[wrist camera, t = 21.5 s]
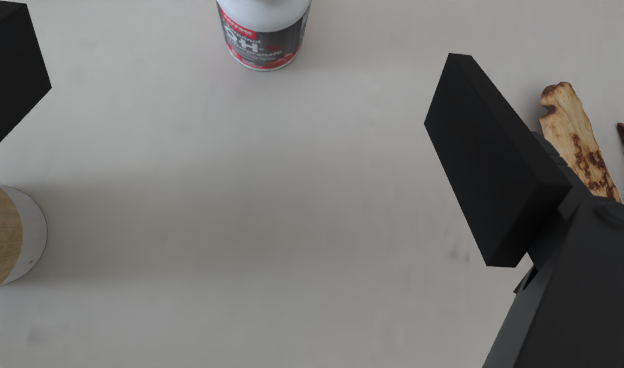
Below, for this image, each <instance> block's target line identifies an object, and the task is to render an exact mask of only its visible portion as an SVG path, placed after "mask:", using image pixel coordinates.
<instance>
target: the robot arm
mask: <svg viewBox="0 0 624 368" xmlns="http://www.w3.org/2000/svg"><path fill="white" fill-rule="evenodd" d="M51 88H52V86H51V83H50V80H49V77H48V73H47V70H46V67H45V63H44V60H43V57H42V54H41V50H40V47H39V44H38V41H37V37H36V34H35V31H34V27H33V24H32V21H31V18H30V14H29V11H28V8H27V5H26V4H25V3H16V2H8V1H0V142H1V141H2V140H3V139H4V138H5V137H6V136H7V135H8V134H9V133H10V132H11V131H12V129H13V128H14V127H15V126H16V125H17V124H18V123H19V122H20V121H21V120H22V119H23V118H24V117H25V116H26V115H27V114H28V113H29V112H30V110H31V109H32V108H33V107H34V106H35V105H36V104H37V103H38V102H39V101H40V100H41V99H42V98H43V97H44V96H45V95H46V94H47V93H48V92H49V90H50V89H51ZM424 125H425V127H426V130H427V132H428V134H429V136H430V139H431V141H432V143H433V146H434V148H435V150H436V152H437V155H438V157H439V159H440V161H441V164H442V166H443V168H444V171H445V173H446V175H447V177H448V180H449V182H450V184H451V186H452V189H453V191H454V193H455V195H456V198H457V200H458V202H459V205H460V207H461V209H462V211H463V214H464V216H465V218H466V220H467V223H468V225H469V227H470V229H471V232H472V234H473V236H474V239H475V241H476V243H477V245H478V248H479V250H480V252H481V254H482V257H483V259H484V261H485V264H486V266H494V267H511V268H515V267H516V266H517V265H518V263H519V262H520V260H521V259H522V258H523V256H524V255H525V253H526V252H527V253H528V254H529V256H530V258H531V260H532V262H533V263H534V265H533V266H532V267H531V269H530V270H529V271H528V273H527V274H526V275H525V277H524V278H523V279H522V281H521V282H520V283H519V285H518V286H517V287H516V289H515V290H514V291H513V292H514V293H516V294H517V295H516V297H515V299H514V302H513V304H512V306H511V308H510V310H509V312H508V314H507V316H506V318H505V320H504V323H503V325H502V327H501V329H500V331H499V333H498V335H497V337H496V339H495V341H494V344H493V346H492V348H491V350H490V352H489V354H488V356H487V358H486V360H485V363H484V365H483V367H482V368H624V205H623V204H621V203H619V202H618V201H615V200H612V199H610V198H607V197H603V196H596V195H593V194H592V193H591V191H590V190H589V189H588V188H587V187H586V185H585V184H584V183H583V182H582V180H581V179H580V178H579V177H578V176H577V174H576V173H575V172H574V171H573V170H572V168H571V167H568V163H567V162H566V161H565V160H564V159H563V157H560V154H559V152H558V151H557V150H556V149H555V148H554V146H553V145H552V144H551V143H550V142H549V141H547V140H546V139H545V138H543V137H542V136H541V135H539V134H538V133H536V132H534V131H530V130H529V128H528V127H527V126H526V125H525V123H524V122H523V121H522V120H521V118H520V117H519V116H518V114H517V113H516V112H515V111H514V109H513V108H512V107H511V106H510V104H509V103H508V102H507V100H506V99H505V98H504V97H503V95H502V94H501V93H500V92H499V90H498V89H497V88H496V86H495V85H494V84H493V83H492V81H491V80H490V79H489V78H488V76H487V75H486V74H485V72H484V71H483V70H482V69H481V67H480V66H479V65H478V64H477V62H476V61H475V60H474V59H473V57H472V56H471V55H463V54H454V53H449V55H448V57H447V60H446V63H445V66H444V69H443V71H442V74H441V77H440V80H439V83H438V86H437V88H436V91H435V94H434V97H433V100H432V102H431V105H430V108H429V111H428V114H427V116H426V119H425V122H424Z"/></svg>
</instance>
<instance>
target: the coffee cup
mask: <svg viewBox="0 0 624 368" xmlns="http://www.w3.org/2000/svg"><path fill="white" fill-rule="evenodd" d="M46 240H47V225H46V220H45V217H44V215H43V213H42V211H41V209H40V208H39V206H38V205H37V204H36V202H35V201H34V200H33V199H31V198H30V197H29V196H28V195H26V194H24V193H23V192H21V191H19V190H16V189H13V188H10V187H7V186H4V185H0V286H3V285H5V284H7V283H9V282H11V281H14V280H16V279H18V278H20V277H21V276H23V275H24V274H26V273H27V272H29V271H30V270H31V269H32V268H33V267H34V266H35V265H36V263H37V262H38V260H39V259H40V257H41V256H42V253H43V251H44V248H45V245H46Z"/></svg>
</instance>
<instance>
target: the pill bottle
mask: <svg viewBox="0 0 624 368" xmlns="http://www.w3.org/2000/svg"><path fill="white" fill-rule="evenodd" d="M216 3H217V7H218V11H219V16H220V20H221V25H222V30H223V35H224V38H225V42H226V44H227V47H228V49H229V51H230V53H231V54H232V55H233V56H234V58H235V59H236V60H237V61H238V62H240V63H241V64H242V65H244V66H246V67H247V68H250V69H253V70H257V71H274V70H277V69H279V68H282V67H284V66H285V65H287V64H288V63H290V62H291V61H292V60H293V59H294V58H295V56H296V55H297V53H298V51H299V49H300V46H301V43H302V39H303V35H304V31H305V26H306V22H307V17H308V13H309V8H310V4H311V0H216Z"/></svg>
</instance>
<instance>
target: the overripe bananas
mask: <svg viewBox="0 0 624 368" xmlns="http://www.w3.org/2000/svg"><path fill="white" fill-rule="evenodd" d="M540 103H541V105H542V106H543V107H545V108H547V109H548V112H547V113H546V114H545V115H543V116H542V117H541V118H540V120H539V121H540V123H541V127H542V130H543V134H544V138H545V139H546V140H547V141H549V142H550V143H551V144H552V145H553V146H554V148H555V149H556V150H557V151H558V152H559V154H560V157H563V159H564V160H565V161H566V162H567V163H568V167H571V168H572V170H573V171H574V172H575V173H576V174H577V176H578V177H579V178H580V179H581V180H582V182H583V183H584V184H585V185H586V187H587V188H588V189H589V190H590V191H591V193H592V194H593V195H596V196H603V197H607V198H610V199H612V200H615V201H618V202H619V203H621V199H620V197H619V193H618V191H617V189H616V187H615V185H614V184H613V181H612V179H611V177H610V175H609V173H608V171H607V168H606V166H605V163H604V161H603V158H602V156H601V151H600V150H599V147H598V145H597V142H596V140H595V138H594V135H593V131H592V127H591V124H590V121H589V119H588V117H587V115H586V113H585V112H584V109H583V106H582V103H581V101H580V99H579V98H578V97H577V96H576V94H575V91H574V90H573V88H572V86H571V84H570V83H568V82H560V83H559V84H557V85H550V86H547V87H546V88H545V89H544V91H543V93H542V95H541V99H540ZM618 129H619V131H620V134H621V136H622V138H623V140H624V124H623V123H618ZM621 204H622V203H621Z"/></svg>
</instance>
